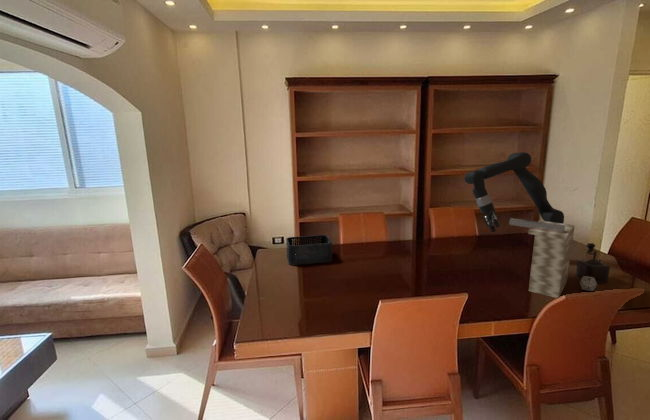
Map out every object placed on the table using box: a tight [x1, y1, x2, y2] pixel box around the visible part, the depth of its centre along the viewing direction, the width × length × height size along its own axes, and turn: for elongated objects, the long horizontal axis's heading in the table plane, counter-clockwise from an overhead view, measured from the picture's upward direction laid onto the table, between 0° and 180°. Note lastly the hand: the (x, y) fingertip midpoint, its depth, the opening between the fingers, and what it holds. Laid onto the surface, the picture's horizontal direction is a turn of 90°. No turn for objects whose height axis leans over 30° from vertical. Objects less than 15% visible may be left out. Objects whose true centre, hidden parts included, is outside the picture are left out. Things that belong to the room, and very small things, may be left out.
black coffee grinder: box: [575, 242, 611, 284], centre depth 191 cm, size 16×11×18 cm
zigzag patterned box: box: [527, 220, 576, 299], centre depth 181 cm, size 16×24×32 cm, turn 138°
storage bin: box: [286, 234, 333, 266], centre depth 230 cm, size 29×19×13 cm
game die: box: [577, 274, 600, 292], centre depth 177 cm, size 9×8×10 cm
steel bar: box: [508, 217, 565, 233], centre depth 177 cm, size 24×3×3 cm, turn 48°
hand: (496, 229), depth 200 cm, fingers open, 8 cm apart
